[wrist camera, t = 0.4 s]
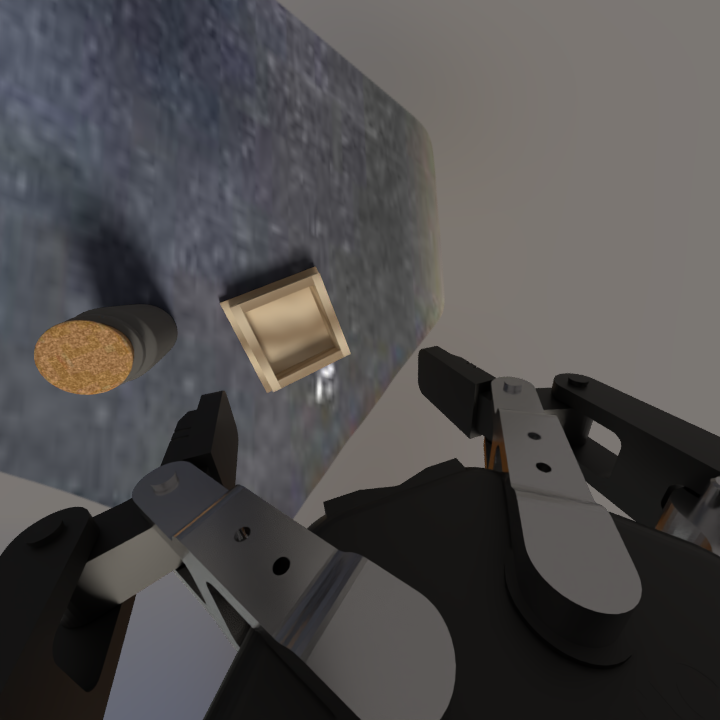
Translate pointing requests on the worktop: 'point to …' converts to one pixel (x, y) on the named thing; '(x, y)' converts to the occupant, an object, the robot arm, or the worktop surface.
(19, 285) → the worktop surface
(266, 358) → the bottle holder
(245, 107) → the worktop surface
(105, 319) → the bottle
